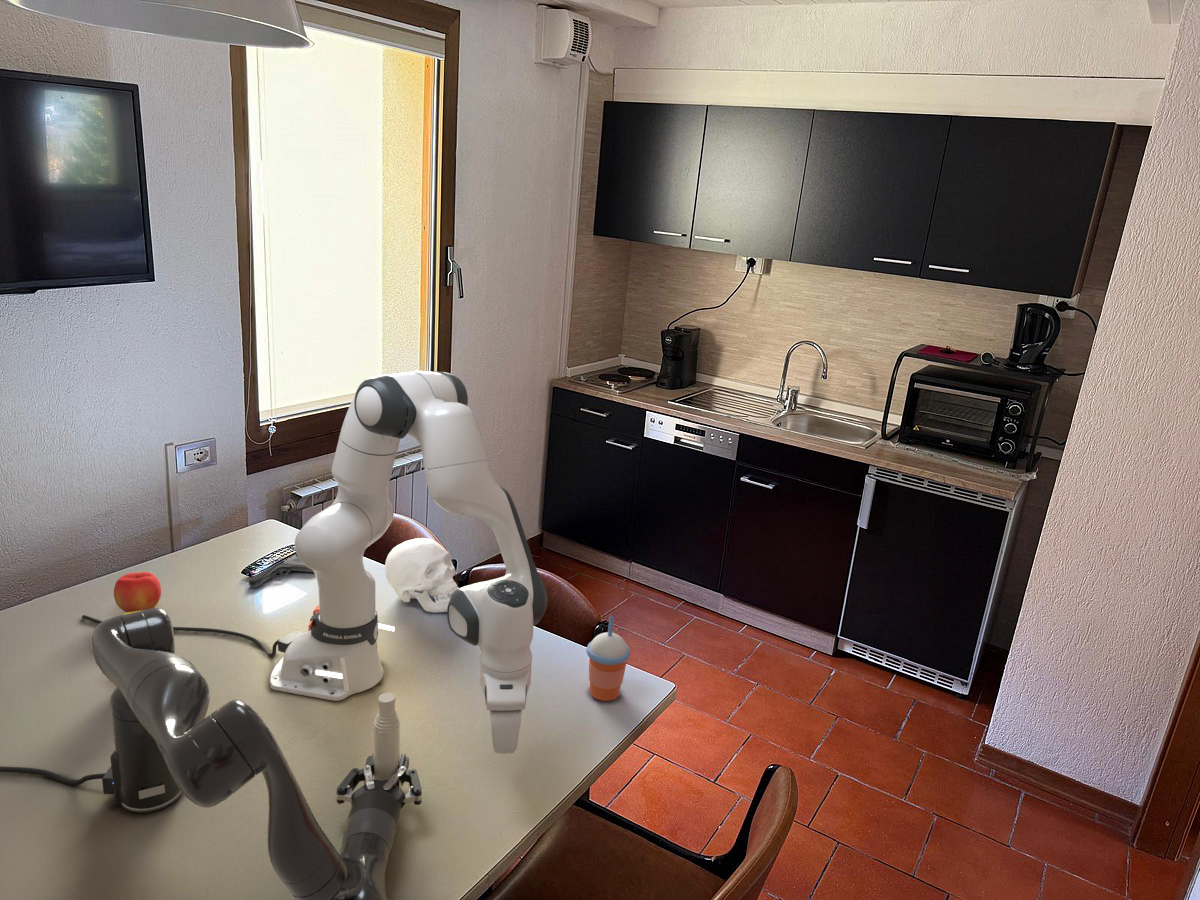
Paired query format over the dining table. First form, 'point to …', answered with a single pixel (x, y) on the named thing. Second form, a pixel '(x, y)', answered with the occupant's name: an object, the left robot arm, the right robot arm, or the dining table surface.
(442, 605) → the skull
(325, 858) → the left robot arm
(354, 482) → the right robot arm
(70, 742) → the dining table surface
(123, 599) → the apple
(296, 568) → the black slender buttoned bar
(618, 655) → the cup with straw
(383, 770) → the bottle
